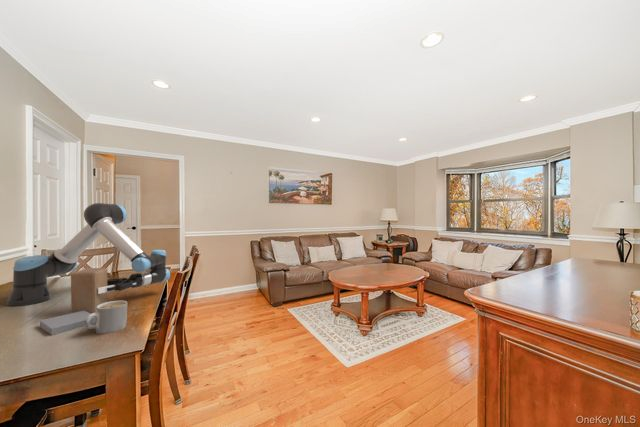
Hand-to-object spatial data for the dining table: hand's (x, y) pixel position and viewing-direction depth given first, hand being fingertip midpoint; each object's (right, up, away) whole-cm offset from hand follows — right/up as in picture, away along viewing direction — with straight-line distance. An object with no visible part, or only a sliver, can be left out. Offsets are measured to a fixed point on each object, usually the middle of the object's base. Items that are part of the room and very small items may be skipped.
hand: (91, 288), depth 121 cm
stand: (+4, -11, -15) cm, 19 cm away
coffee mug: (+23, -12, -18) cm, 31 cm away
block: (0, -11, 0) cm, 11 cm away
